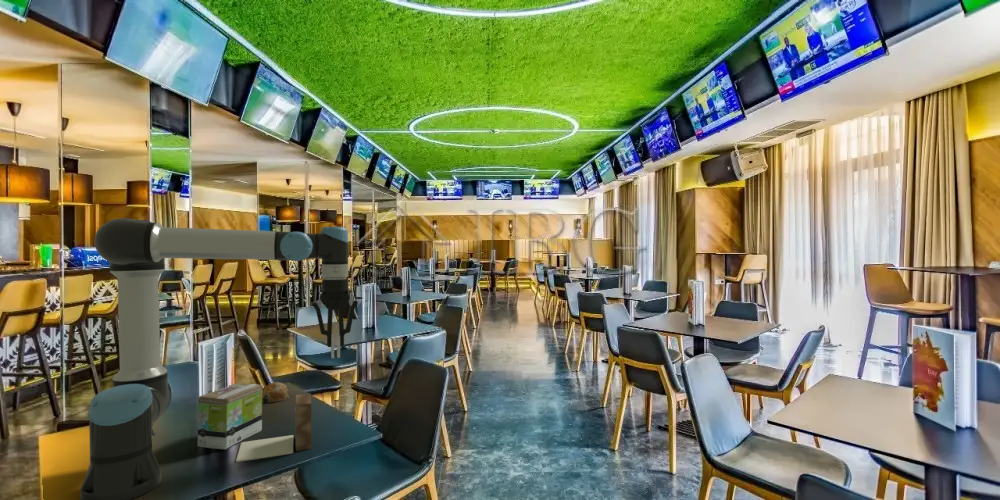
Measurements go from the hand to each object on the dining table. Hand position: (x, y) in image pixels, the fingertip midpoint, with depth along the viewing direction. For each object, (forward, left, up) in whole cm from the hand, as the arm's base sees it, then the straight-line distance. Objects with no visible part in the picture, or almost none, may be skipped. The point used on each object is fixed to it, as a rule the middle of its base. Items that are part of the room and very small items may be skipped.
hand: (335, 356), depth 144 cm
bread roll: (-19, +48, -25) cm, 57 cm away
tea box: (-29, +12, -25) cm, 40 cm away
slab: (-9, 0, -25) cm, 26 cm away
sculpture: (-52, +25, -25) cm, 63 cm away
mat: (-19, 0, -24) cm, 31 cm away
